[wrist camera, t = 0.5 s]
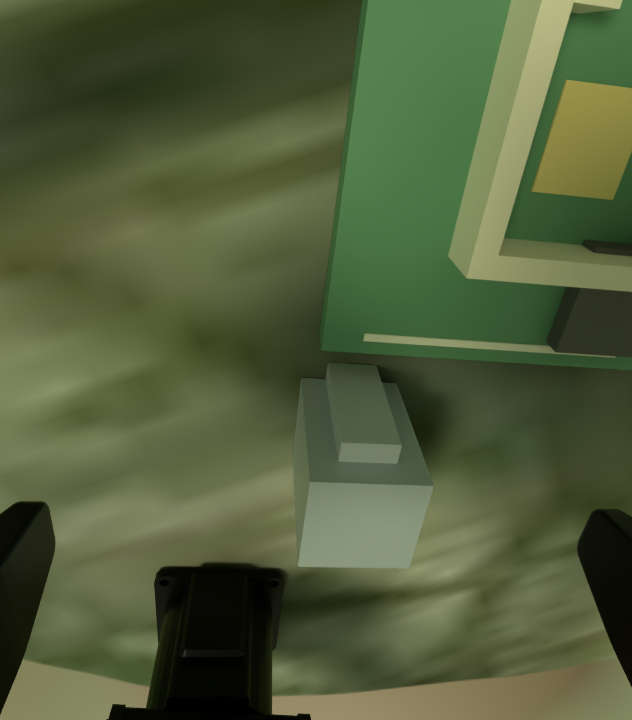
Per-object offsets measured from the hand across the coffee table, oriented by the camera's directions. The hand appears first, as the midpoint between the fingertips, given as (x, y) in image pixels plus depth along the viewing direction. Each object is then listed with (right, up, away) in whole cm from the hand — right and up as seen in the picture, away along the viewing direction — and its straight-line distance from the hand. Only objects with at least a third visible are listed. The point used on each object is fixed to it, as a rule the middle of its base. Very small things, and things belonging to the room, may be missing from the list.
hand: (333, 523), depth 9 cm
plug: (+1, 0, +14) cm, 14 cm away
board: (+7, +9, +9) cm, 15 cm away
